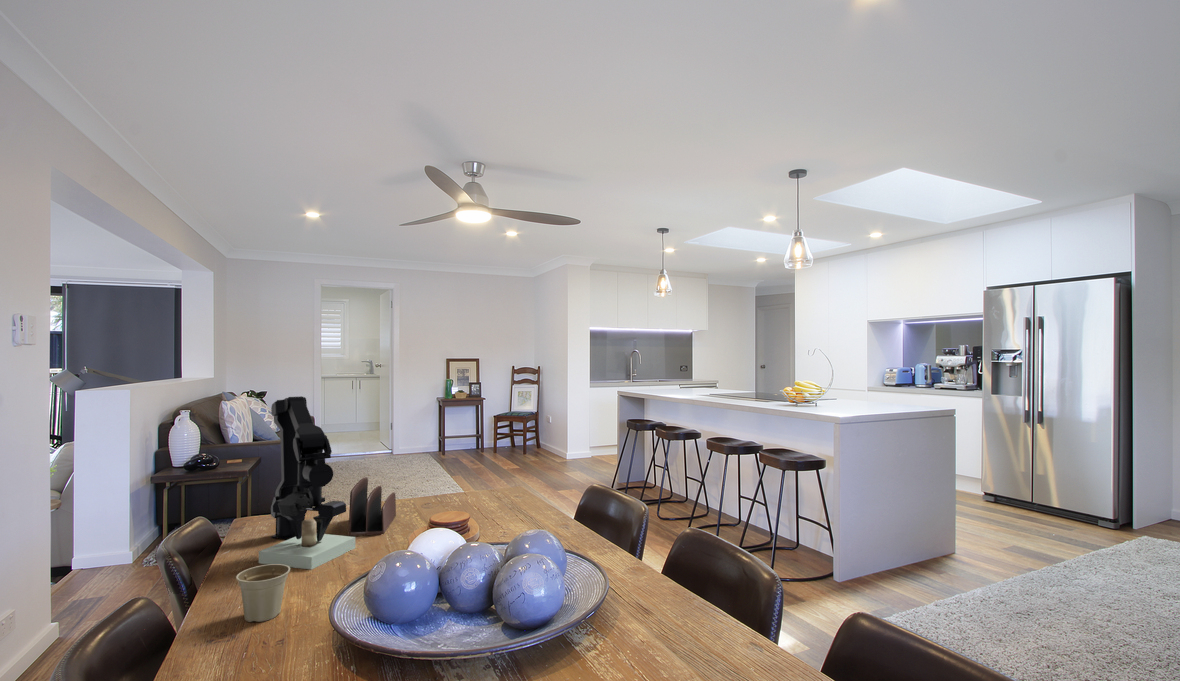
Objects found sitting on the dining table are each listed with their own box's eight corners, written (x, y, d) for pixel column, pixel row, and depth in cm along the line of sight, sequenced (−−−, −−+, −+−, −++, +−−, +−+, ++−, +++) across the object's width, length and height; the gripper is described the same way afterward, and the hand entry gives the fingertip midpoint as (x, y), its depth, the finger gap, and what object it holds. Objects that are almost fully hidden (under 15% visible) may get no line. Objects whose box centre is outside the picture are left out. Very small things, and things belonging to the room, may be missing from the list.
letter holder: (348, 537, 163) (348, 488, 163) (364, 517, 182) (364, 474, 183) (383, 535, 164) (384, 486, 165) (396, 516, 184) (396, 473, 184)
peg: (298, 557, 146) (298, 522, 146) (308, 552, 149) (308, 518, 149) (309, 558, 145) (309, 523, 145) (319, 553, 148) (319, 519, 148)
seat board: (258, 563, 141) (258, 551, 141) (306, 543, 157) (306, 532, 157) (311, 569, 137) (311, 557, 137) (355, 548, 152) (355, 537, 153)
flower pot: (300, 609, 115) (301, 566, 116) (259, 630, 106) (260, 584, 107) (265, 602, 118) (266, 561, 119) (223, 622, 110) (224, 578, 110)
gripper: (255, 484, 142) (254, 546, 142) (316, 489, 137) (315, 553, 137) (290, 475, 153) (289, 533, 153) (348, 479, 148) (347, 539, 148)
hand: (309, 539), depth 147 cm, fingers open, 6 cm apart
